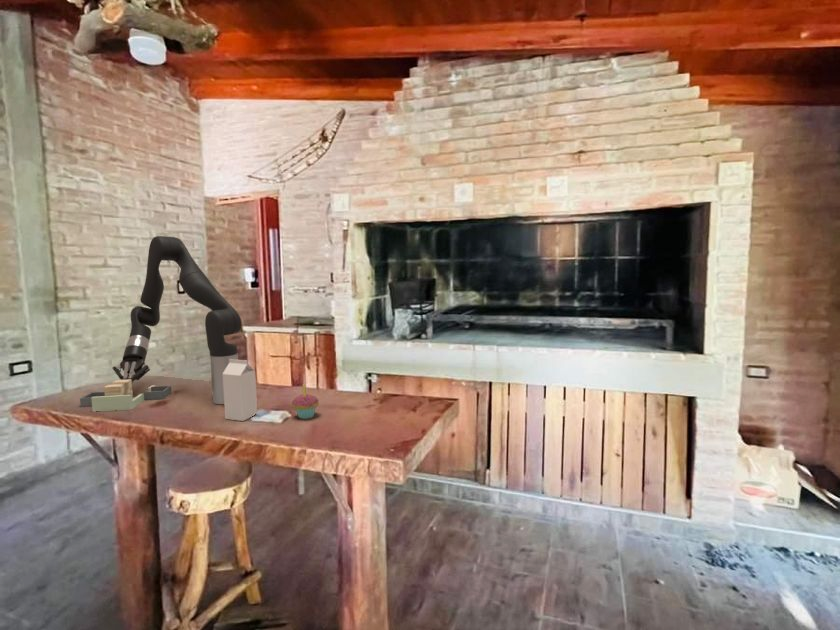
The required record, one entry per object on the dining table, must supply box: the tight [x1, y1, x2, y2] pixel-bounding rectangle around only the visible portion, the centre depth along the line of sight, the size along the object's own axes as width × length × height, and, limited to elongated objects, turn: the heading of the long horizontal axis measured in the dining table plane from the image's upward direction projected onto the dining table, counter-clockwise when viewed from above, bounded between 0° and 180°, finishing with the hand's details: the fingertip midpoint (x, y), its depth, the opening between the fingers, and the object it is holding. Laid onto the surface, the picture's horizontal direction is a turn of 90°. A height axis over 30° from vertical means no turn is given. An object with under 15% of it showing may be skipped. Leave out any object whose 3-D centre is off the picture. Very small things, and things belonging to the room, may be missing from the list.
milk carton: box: [223, 359, 258, 422], centre depth 161 cm, size 7×7×19 cm
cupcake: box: [291, 381, 319, 420], centre depth 162 cm, size 9×8×12 cm
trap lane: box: [79, 384, 172, 413], centre depth 182 cm, size 23×26×5 cm
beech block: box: [103, 379, 134, 399], centre depth 177 cm, size 10×5×8 cm, turn 9°
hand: (126, 389), depth 182 cm, fingers closed
